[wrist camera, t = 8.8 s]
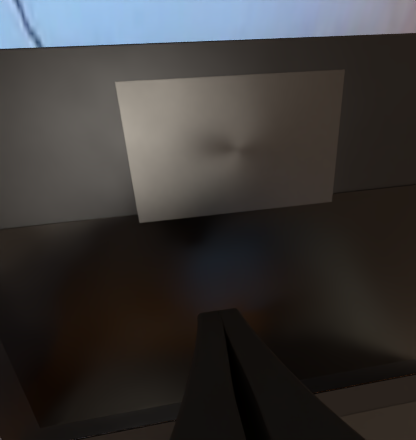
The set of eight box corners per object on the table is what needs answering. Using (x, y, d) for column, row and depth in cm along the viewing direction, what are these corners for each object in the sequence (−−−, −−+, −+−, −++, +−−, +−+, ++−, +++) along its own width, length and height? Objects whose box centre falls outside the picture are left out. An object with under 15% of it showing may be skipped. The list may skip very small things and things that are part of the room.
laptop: (-143, 69, 10) (-211, 55, 8) (505, 40, 13) (558, 26, 11) (23, 420, 17) (6, 454, 15) (420, 348, 20) (444, 369, 18)
